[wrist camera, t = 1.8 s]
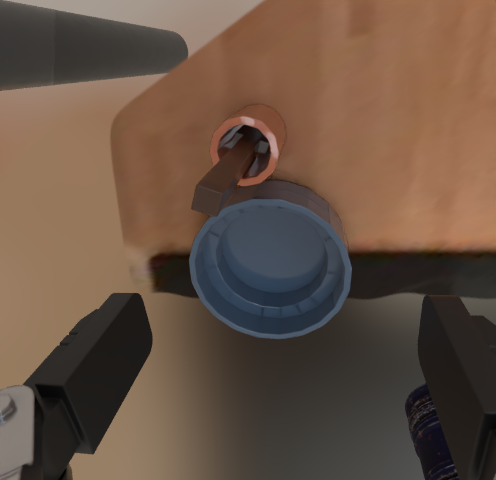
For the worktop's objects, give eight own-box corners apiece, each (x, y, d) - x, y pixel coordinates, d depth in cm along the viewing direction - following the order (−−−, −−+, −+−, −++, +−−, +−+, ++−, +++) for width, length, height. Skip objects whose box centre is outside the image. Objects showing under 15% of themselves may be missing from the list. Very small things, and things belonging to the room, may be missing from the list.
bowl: (194, 279, 43) (177, 310, 38) (224, 158, 36) (208, 176, 31) (316, 320, 43) (316, 357, 38) (370, 206, 36) (379, 232, 31)
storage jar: (505, 418, 45) (583, 569, 32) (429, 443, 49) (471, 585, 36) (465, 366, 43) (532, 505, 29) (388, 396, 46) (417, 530, 33)
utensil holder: (226, 151, 36) (203, 174, 29) (239, 96, 34) (218, 107, 26) (276, 167, 36) (266, 194, 29) (293, 114, 33) (287, 129, 26)
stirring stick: (240, 137, 35) (175, 204, 19) (244, 122, 34) (180, 179, 18) (270, 146, 34) (231, 223, 19) (275, 132, 34) (238, 198, 18)
